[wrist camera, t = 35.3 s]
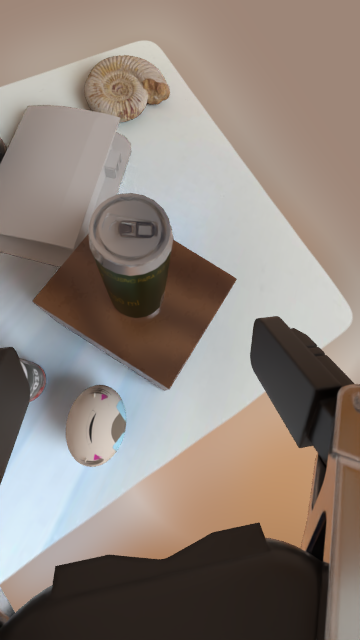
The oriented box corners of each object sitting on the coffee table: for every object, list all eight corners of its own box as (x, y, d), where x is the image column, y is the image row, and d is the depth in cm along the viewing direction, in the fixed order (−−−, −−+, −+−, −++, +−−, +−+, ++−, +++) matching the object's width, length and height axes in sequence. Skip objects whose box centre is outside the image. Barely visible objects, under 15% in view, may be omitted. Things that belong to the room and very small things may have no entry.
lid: (114, 207, 33) (113, 202, 32) (235, 281, 32) (237, 278, 31) (34, 303, 29) (31, 301, 28) (168, 389, 28) (169, 389, 27)
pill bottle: (37, 407, 34) (2, 411, 26) (-3, 396, 34) (-51, 397, 26) (53, 367, 35) (24, 359, 27) (14, 356, 35) (-26, 345, 27)
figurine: (124, 459, 33) (118, 475, 27) (70, 457, 33) (51, 472, 27) (131, 387, 36) (128, 386, 29) (81, 384, 35) (65, 381, 29)
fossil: (137, 42, 46) (173, 63, 42) (143, 81, 50) (176, 103, 46) (66, 69, 43) (98, 94, 39) (79, 107, 48) (108, 133, 43)
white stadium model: (135, 137, 45) (134, 113, 41) (90, 274, 39) (84, 261, 35) (35, 110, 44) (24, 83, 40) (-28, 245, 38) (-47, 228, 34)
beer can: (164, 269, 30) (174, 192, 19) (164, 320, 29) (174, 270, 18) (111, 268, 30) (88, 187, 18) (108, 319, 29) (81, 267, 17)
